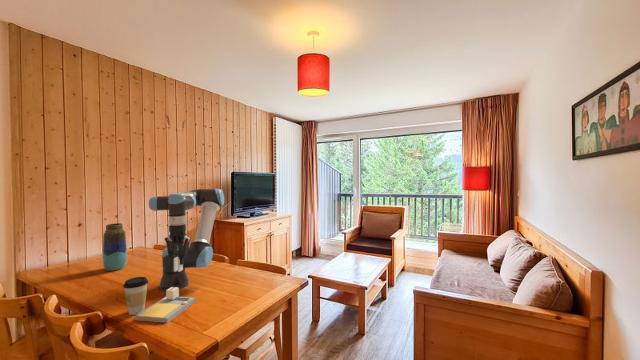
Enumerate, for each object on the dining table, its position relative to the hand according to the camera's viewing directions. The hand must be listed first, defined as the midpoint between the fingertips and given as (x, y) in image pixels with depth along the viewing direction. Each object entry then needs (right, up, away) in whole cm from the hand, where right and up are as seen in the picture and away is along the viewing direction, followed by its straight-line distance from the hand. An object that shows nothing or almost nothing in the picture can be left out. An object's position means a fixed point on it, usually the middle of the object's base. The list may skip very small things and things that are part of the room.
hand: (178, 270), depth 137 cm
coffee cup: (-16, -17, -8) cm, 24 cm away
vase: (-72, -17, +53) cm, 91 cm away
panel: (-1, -17, -7) cm, 18 cm away
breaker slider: (-3, -14, +1) cm, 14 cm away
